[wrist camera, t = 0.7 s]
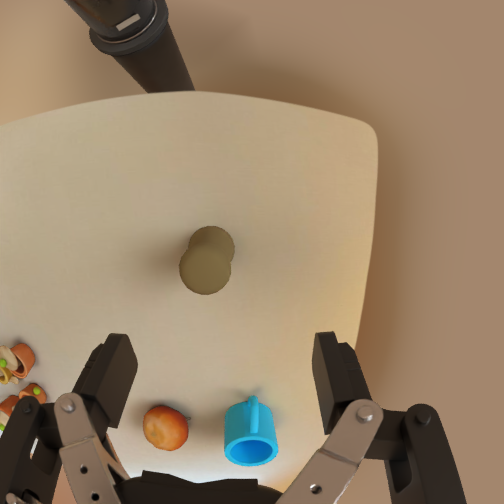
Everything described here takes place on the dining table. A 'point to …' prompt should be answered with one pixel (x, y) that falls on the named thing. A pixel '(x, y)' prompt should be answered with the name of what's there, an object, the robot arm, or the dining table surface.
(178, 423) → the fruit
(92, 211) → the dining table surface
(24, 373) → the toy tea set
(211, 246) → the cork
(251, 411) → the mug
